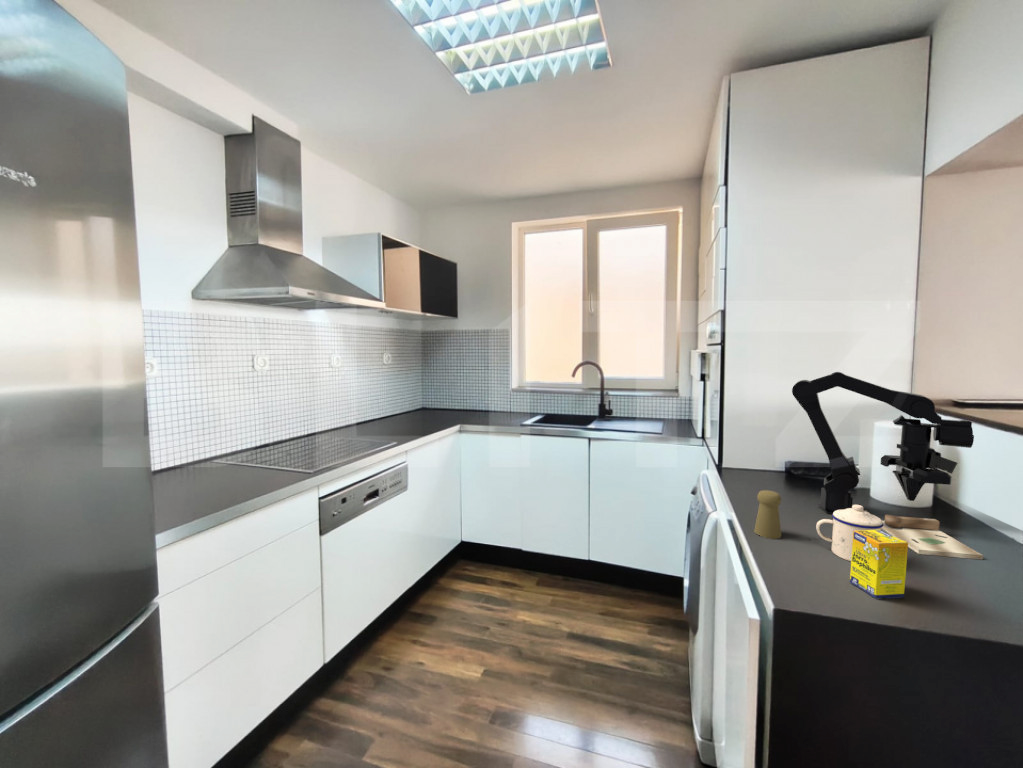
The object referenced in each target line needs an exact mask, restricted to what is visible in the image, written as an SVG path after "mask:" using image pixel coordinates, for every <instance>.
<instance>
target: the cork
mask: <svg viewBox="0 0 1023 768" xmlns="http://www.w3.org/2000/svg"><path fill="white" fill-rule="evenodd" d="M756 499H757V502H759V505H758V510H757V515H756V520H755V524H754V530H753V533H754V532H755V533H756V534H758V535H760V536H762V537H761V538H763V537H766V538H765V539H767V538H771V539H770V540H778V539H777V538H780V537H781V536H782V528H781V520H780V510H779V507H780V506H781V503H782V496H781V494H780V493H779V492H776V491H774V490H768V489H766V490H765V489H764V490H763V489H762V490H759V492H758V494H757V497H756ZM755 533H754V534H755ZM756 534H755V535H756ZM758 535H757V536H758ZM760 536H759V537H760ZM781 538H782V537H781ZM781 538H780V539H781Z"/></svg>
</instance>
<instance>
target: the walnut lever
mask: <svg viewBox="0 0 1023 768" xmlns="http://www.w3.org/2000/svg"><path fill="white" fill-rule="evenodd" d="M884 521H885V525H888V526H891V527H911V528H924V529H936V530H940V521H939V520H937V519H936V518H926V517H925V518H923V517H913V516H912V517H908V516H897V515H894V514H885V515H884Z"/></svg>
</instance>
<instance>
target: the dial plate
mask: <svg viewBox="0 0 1023 768" xmlns="http://www.w3.org/2000/svg"><path fill="white" fill-rule="evenodd" d="M882 522H883V527H882V531H884V532H885V533H887V534H889V535H891V536H894V537H896V538H898V539H900V540H902V541H905V542H907V543H908V549H911V550H912V551H913V552H915V553H916V554H918V555H928V556H929V555H930V556H940V557H949V558H961V559H970V560H971V559H975V560H983V559H984V555H983V554H981V553H980V552H978V551H977V550H974V549H973V548H971V547H969V546H968V545H966V544H964V543H963V542H961V541H959V540H957V539H956V538H954V537H952V536H950V535H948V534H947V533H945V532H943V531H941V530H940V529H939V530H936V529H924V528H911V527H891V526H888V525H885V520H882Z"/></svg>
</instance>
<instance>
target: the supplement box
mask: <svg viewBox="0 0 1023 768" xmlns="http://www.w3.org/2000/svg"><path fill="white" fill-rule="evenodd" d="M908 550H909V547H908V543H907V542H905V541H902V540H900V539H898V538H896V537H894V536H892V535H890V534H889V533H888V532H886V531H884V530H882V531H881V530H858V531H853V543H852V557H851V561H850V574H849V583H850V584H852V585H854V586H855V587H857V588H858V589H860V590H862V591H863V592H865V594H866V593H867V594H868V595H870V596H871V597H872V598H874V599H876V600H882V598H886V599H899V598H900V599H901V598H902V597H903V598H904V597H905V587H906V576H907V563H908V562H907V561H908Z"/></svg>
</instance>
